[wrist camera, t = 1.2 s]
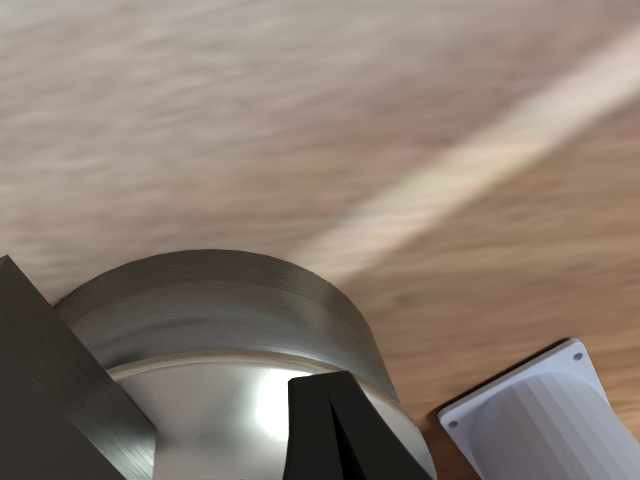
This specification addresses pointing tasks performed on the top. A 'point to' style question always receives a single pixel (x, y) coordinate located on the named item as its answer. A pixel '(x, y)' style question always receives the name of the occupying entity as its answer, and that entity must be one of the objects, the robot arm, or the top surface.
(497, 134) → the top surface
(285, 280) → the cooker pot
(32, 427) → the cooker lid
